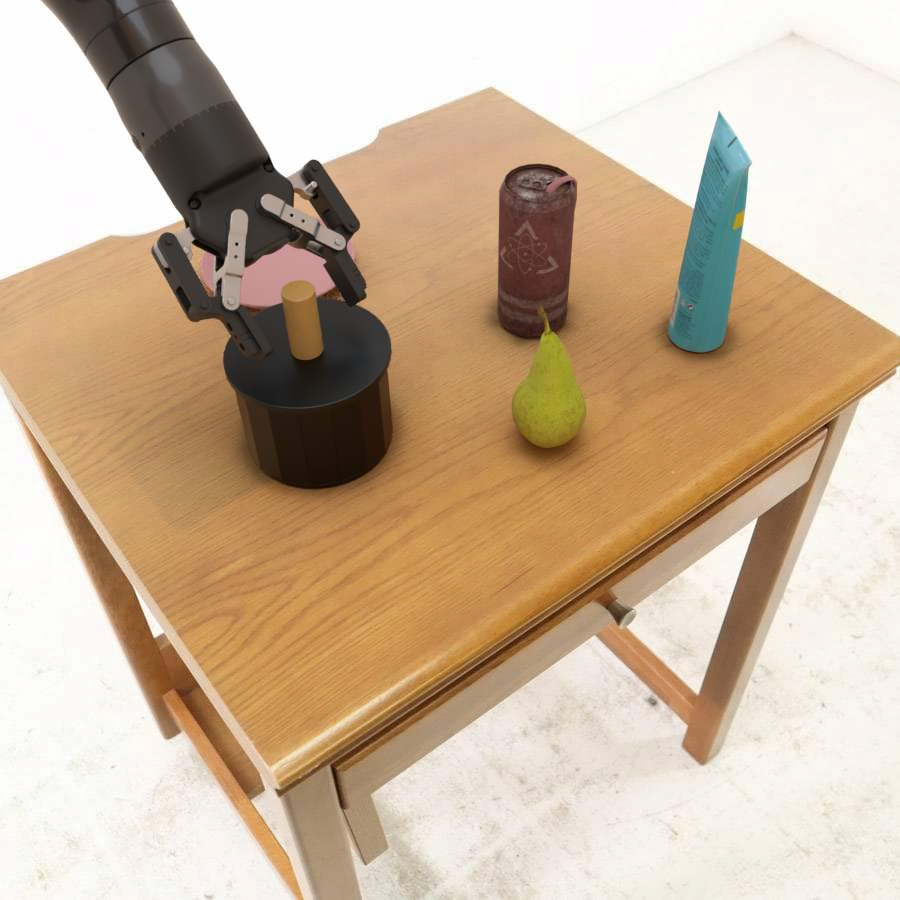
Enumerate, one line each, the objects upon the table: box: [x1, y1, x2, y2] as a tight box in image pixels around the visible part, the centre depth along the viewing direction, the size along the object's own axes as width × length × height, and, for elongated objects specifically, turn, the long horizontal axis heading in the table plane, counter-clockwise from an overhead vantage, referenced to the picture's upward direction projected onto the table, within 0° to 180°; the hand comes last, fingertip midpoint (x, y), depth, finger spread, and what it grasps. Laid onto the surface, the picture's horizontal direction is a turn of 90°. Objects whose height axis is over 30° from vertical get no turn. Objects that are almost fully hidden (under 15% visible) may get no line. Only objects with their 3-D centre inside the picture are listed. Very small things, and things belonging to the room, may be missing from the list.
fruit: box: [511, 306, 587, 449], centre depth 80 cm, size 6×6×12 cm
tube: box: [667, 110, 753, 353], centre depth 85 cm, size 7×5×19 cm, turn 13°
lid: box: [222, 280, 393, 414], centre depth 77 cm, size 12×12×7 cm
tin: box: [234, 369, 394, 490], centre depth 82 cm, size 11×11×8 cm
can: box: [497, 163, 578, 339], centre depth 89 cm, size 6×6×14 cm
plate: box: [199, 215, 356, 311], centre depth 99 cm, size 14×14×2 cm
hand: (313, 329), depth 76 cm, fingers open, 8 cm apart
